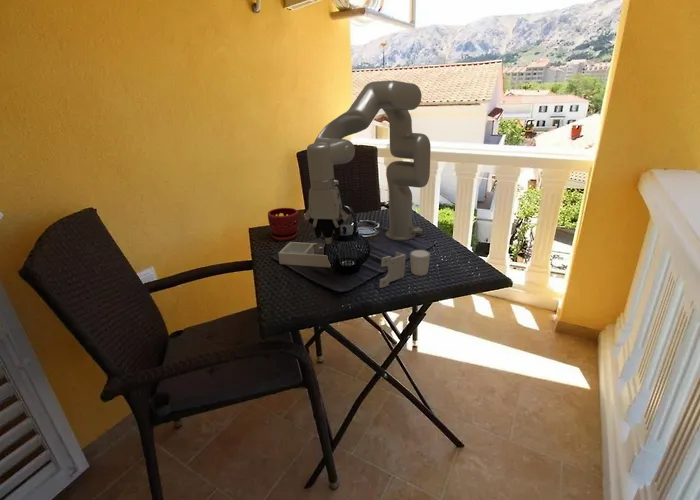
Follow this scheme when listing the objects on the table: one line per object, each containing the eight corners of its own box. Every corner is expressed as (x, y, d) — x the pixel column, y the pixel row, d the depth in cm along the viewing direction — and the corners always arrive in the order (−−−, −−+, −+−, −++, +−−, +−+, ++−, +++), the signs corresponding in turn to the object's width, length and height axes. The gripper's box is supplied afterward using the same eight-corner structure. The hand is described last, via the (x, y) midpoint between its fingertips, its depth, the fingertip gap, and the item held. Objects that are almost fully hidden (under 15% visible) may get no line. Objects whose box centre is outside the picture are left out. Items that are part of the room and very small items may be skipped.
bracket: (393, 275, 130) (396, 248, 126) (403, 279, 127) (406, 252, 123) (371, 283, 122) (373, 254, 119) (381, 287, 119) (383, 258, 116)
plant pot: (280, 245, 158) (276, 218, 153) (265, 237, 167) (261, 211, 163) (306, 236, 165) (303, 210, 161) (290, 229, 175) (287, 205, 170)
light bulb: (339, 240, 127) (337, 212, 123) (334, 247, 122) (331, 219, 118) (323, 239, 129) (320, 212, 124) (317, 246, 123) (314, 218, 119)
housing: (338, 255, 145) (337, 240, 143) (330, 267, 136) (328, 252, 133) (291, 252, 151) (289, 238, 148) (279, 263, 141) (277, 249, 138)
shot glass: (406, 269, 131) (406, 251, 128) (423, 265, 133) (423, 247, 130) (415, 278, 125) (416, 259, 122) (433, 273, 127) (434, 255, 124)
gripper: (352, 180, 118) (355, 233, 125) (301, 180, 122) (307, 232, 130) (346, 187, 111) (350, 242, 119) (292, 187, 116) (299, 240, 123)
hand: (328, 236), depth 124 cm, fingers closed on light bulb, 5 cm apart
